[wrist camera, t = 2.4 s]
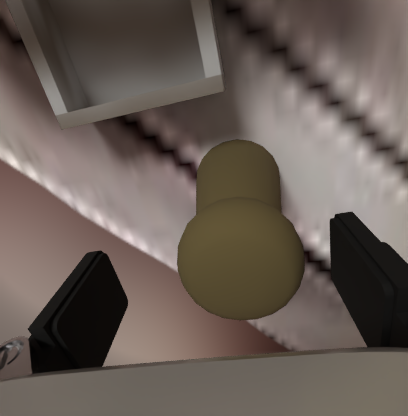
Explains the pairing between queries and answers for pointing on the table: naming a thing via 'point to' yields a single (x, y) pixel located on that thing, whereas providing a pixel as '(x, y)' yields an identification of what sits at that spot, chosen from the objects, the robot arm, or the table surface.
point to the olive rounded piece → (240, 236)
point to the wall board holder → (119, 54)
